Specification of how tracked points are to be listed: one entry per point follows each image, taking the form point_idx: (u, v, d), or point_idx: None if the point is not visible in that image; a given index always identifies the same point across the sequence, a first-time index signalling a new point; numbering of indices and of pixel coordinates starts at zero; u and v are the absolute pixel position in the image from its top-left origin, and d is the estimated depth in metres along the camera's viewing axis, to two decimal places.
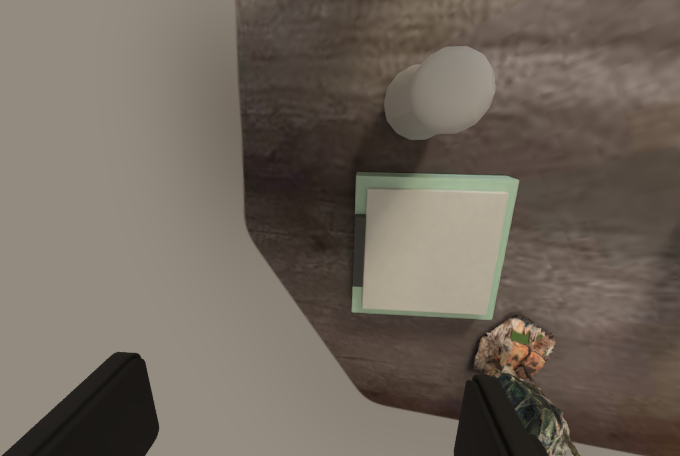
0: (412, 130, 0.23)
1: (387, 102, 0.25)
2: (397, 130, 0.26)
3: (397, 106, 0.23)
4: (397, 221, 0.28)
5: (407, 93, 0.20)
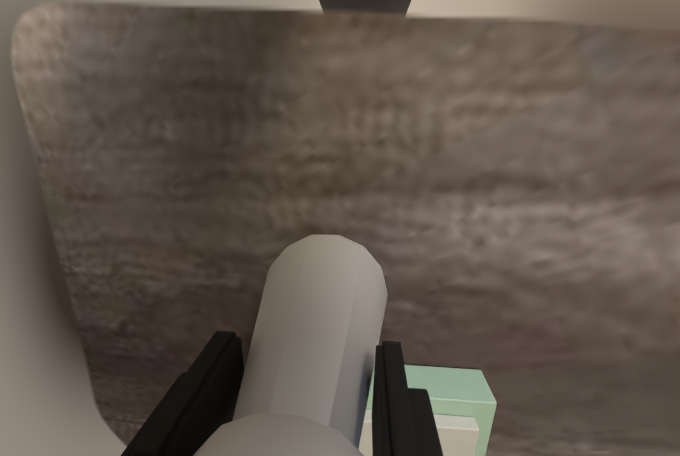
0: None
1: None
2: None
3: None
4: None
5: None
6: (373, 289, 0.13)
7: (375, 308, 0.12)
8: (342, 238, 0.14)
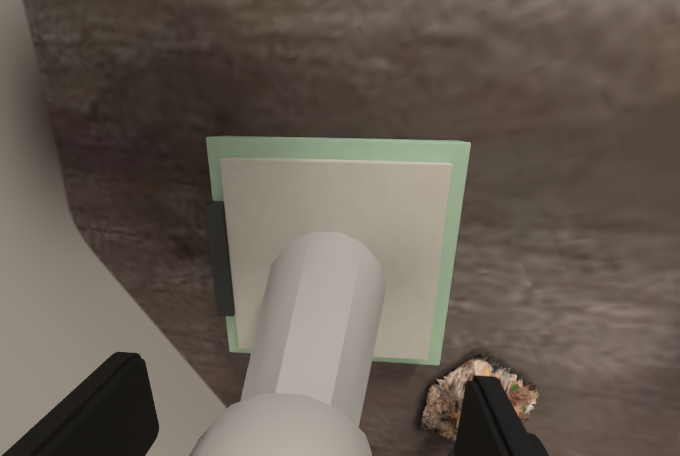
0: None
1: None
2: None
3: None
4: (274, 212, 0.17)
5: None
6: (372, 284, 0.13)
7: (374, 301, 0.13)
8: (342, 235, 0.15)
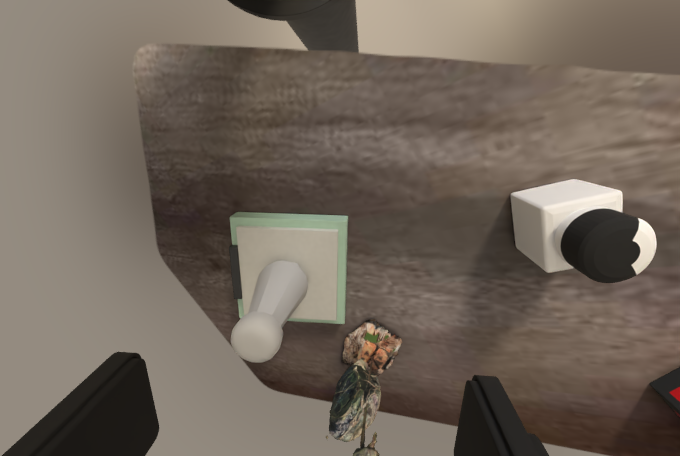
0: None
1: None
2: None
3: None
4: (260, 251, 0.38)
5: None
6: (297, 283, 0.34)
7: (297, 290, 0.33)
8: (288, 262, 0.35)
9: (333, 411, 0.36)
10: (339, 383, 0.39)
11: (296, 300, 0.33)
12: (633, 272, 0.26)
